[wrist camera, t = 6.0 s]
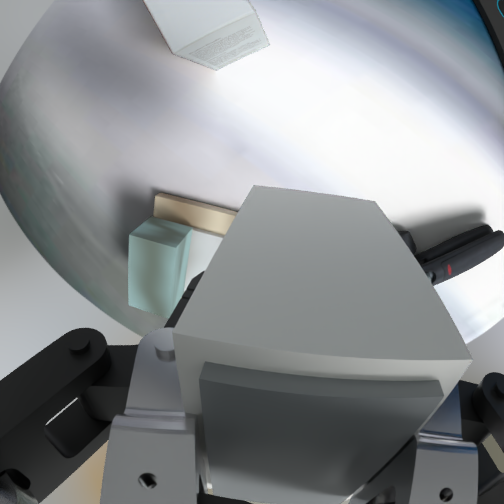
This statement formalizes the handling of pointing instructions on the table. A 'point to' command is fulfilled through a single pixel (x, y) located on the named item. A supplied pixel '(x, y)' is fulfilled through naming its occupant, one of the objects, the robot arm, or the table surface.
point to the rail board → (172, 251)
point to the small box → (209, 29)
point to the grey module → (311, 349)
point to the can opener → (456, 253)
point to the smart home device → (494, 21)
